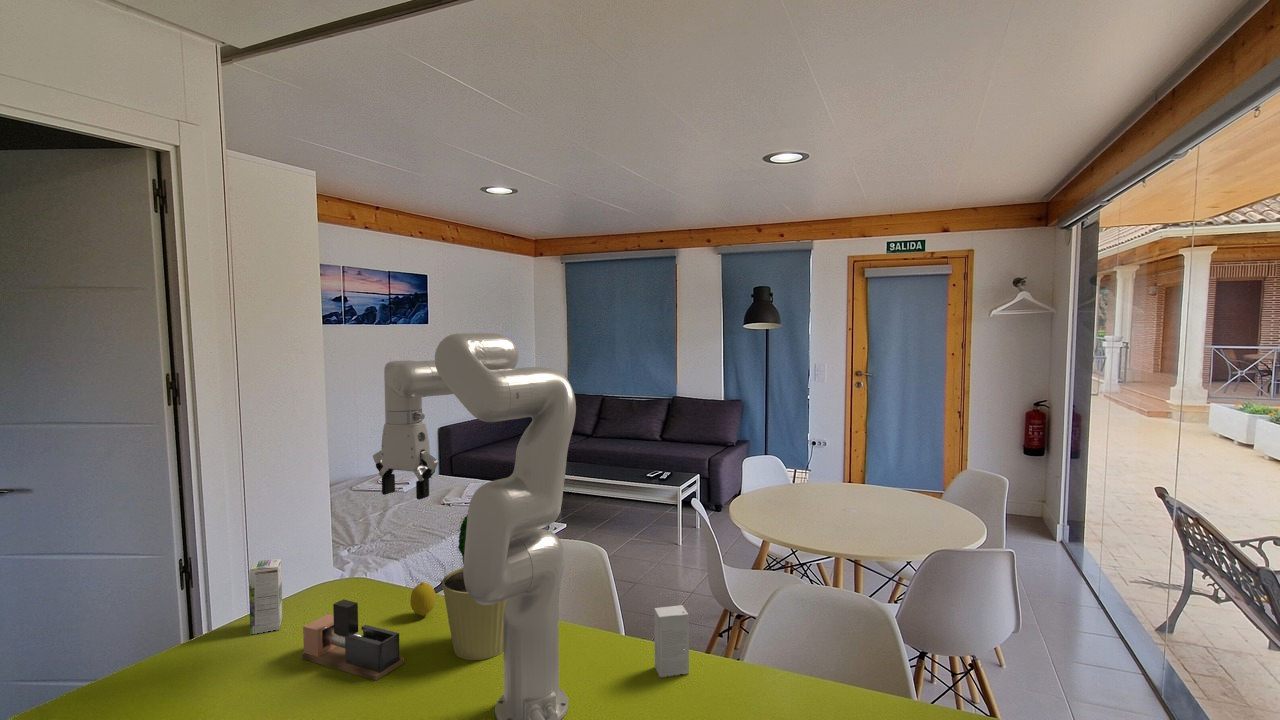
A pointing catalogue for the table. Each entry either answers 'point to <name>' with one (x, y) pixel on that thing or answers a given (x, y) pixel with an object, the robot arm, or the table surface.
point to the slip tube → (342, 623)
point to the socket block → (317, 636)
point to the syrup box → (265, 596)
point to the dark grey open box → (372, 649)
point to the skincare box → (671, 640)
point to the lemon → (423, 599)
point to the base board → (338, 661)
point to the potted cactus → (472, 616)
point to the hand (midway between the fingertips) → (405, 495)
